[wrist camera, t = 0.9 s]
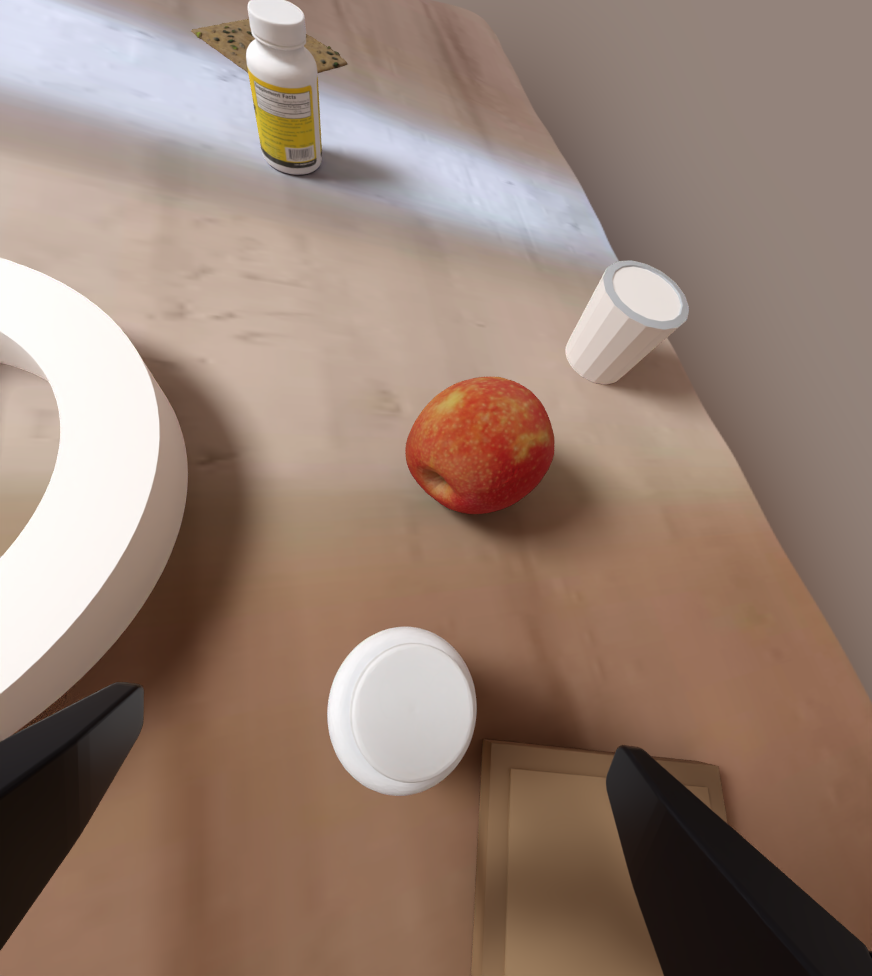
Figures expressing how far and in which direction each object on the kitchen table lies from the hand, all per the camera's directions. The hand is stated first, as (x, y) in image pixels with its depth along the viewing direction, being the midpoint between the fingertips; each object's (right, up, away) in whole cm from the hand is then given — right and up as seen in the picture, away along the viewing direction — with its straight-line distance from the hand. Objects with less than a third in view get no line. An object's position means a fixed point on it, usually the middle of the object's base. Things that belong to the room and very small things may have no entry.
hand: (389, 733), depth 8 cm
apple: (+3, +5, +21) cm, 22 cm away
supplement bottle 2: (-2, -7, +15) cm, 16 cm away
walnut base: (+9, -16, +12) cm, 22 cm away
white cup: (+15, +16, +29) cm, 36 cm away
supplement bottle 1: (-13, +36, +31) cm, 49 cm away
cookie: (-18, +54, +39) cm, 69 cm away
